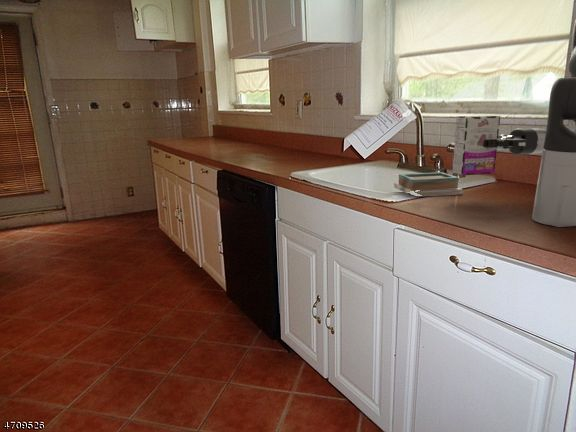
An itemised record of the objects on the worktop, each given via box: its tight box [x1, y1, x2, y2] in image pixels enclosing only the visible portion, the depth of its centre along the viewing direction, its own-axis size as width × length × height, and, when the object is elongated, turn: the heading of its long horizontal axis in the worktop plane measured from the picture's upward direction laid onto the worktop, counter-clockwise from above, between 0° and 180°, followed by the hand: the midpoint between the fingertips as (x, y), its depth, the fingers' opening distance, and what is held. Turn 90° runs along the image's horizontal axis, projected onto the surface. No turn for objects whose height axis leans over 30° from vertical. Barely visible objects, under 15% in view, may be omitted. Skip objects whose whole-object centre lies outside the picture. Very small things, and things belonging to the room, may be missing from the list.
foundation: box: [393, 171, 464, 197], centre depth 136 cm, size 14×16×5 cm
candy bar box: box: [451, 115, 501, 176], centre depth 122 cm, size 11×5×16 cm, turn 105°
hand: (478, 142), depth 122 cm, fingers closed on candy bar box, 5 cm apart
